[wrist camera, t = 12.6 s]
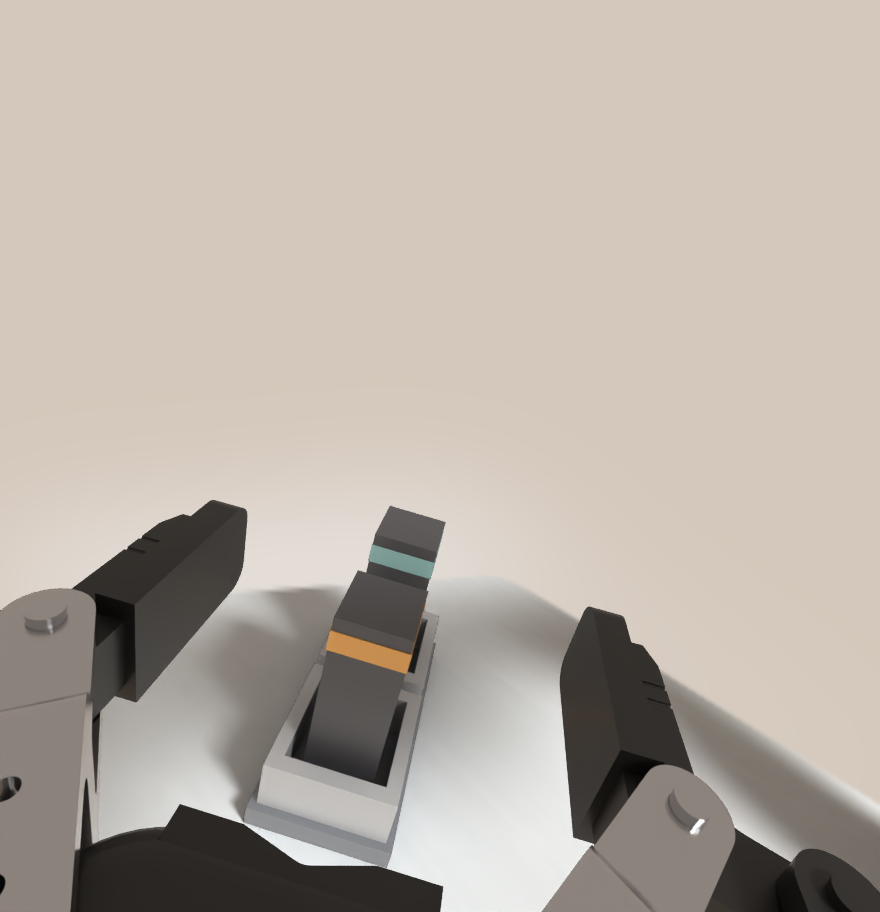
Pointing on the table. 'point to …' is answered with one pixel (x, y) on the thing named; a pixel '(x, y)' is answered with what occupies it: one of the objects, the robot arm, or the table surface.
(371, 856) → the grey double socket holder
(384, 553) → the twin plug
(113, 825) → the table surface
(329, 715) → the plug
